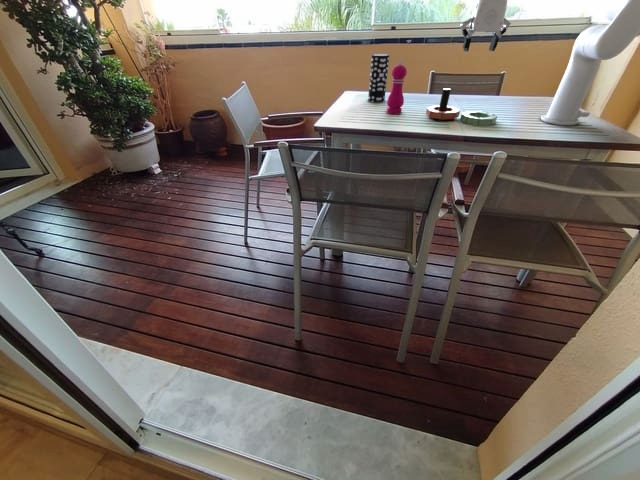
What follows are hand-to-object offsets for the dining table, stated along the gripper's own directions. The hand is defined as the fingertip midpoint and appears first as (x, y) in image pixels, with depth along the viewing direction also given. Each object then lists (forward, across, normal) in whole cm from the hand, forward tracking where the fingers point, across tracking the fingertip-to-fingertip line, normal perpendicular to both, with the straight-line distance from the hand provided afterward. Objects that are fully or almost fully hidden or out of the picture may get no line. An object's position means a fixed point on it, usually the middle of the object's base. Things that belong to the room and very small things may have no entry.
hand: (478, 50), depth 110 cm
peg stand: (+24, -8, +1) cm, 25 cm away
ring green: (+24, +5, -5) cm, 25 cm away
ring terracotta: (+23, -8, +1) cm, 24 cm away
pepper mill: (+24, -26, +10) cm, 37 cm away
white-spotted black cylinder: (+24, -30, +34) cm, 52 cm away
